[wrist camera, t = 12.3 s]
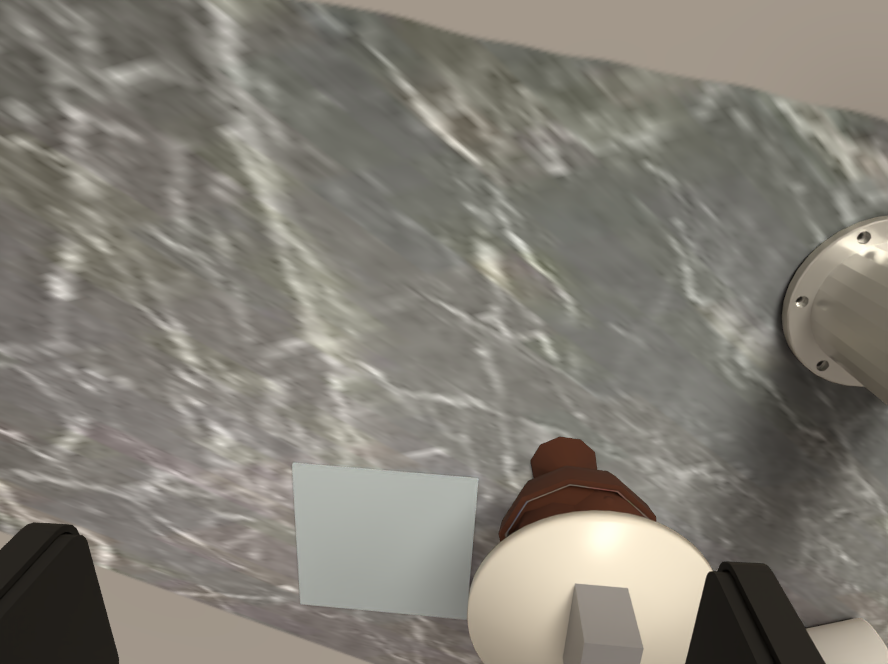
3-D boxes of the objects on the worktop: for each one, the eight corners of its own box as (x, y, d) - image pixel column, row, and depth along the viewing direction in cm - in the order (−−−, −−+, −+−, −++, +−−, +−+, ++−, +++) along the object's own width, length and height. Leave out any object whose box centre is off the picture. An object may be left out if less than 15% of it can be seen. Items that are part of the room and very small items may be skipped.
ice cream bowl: (622, 398, 48) (676, 527, 34) (634, 511, 52) (685, 668, 38) (489, 416, 49) (488, 547, 36) (510, 524, 53) (517, 680, 40)
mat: (478, 477, 52) (478, 480, 51) (466, 616, 58) (466, 619, 58) (293, 462, 53) (291, 465, 52) (301, 600, 59) (300, 604, 58)
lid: (747, 522, 34) (787, 592, 29) (693, 707, 39) (719, 790, 35) (475, 499, 34) (472, 564, 30) (461, 684, 40) (457, 762, 36)
